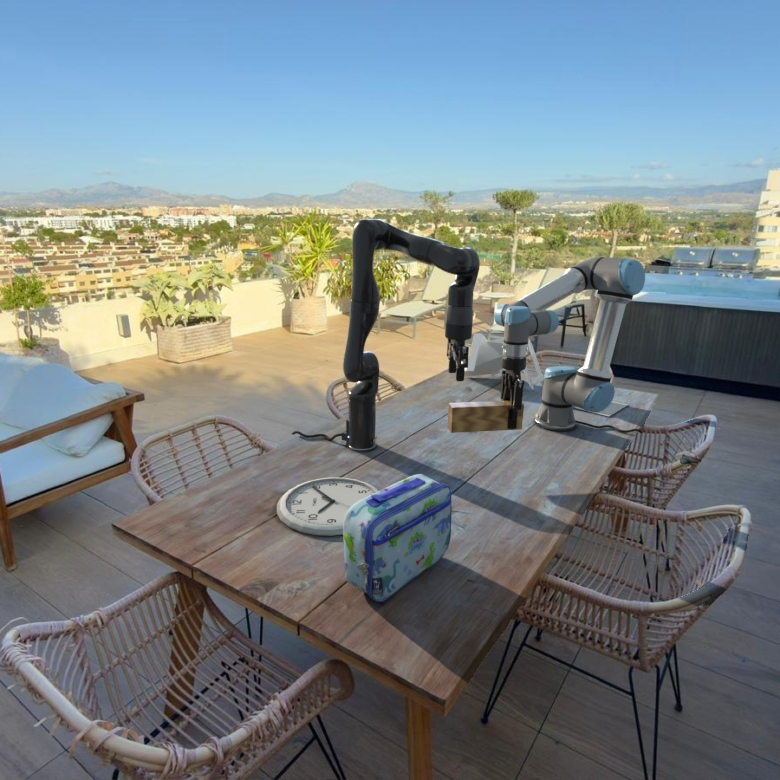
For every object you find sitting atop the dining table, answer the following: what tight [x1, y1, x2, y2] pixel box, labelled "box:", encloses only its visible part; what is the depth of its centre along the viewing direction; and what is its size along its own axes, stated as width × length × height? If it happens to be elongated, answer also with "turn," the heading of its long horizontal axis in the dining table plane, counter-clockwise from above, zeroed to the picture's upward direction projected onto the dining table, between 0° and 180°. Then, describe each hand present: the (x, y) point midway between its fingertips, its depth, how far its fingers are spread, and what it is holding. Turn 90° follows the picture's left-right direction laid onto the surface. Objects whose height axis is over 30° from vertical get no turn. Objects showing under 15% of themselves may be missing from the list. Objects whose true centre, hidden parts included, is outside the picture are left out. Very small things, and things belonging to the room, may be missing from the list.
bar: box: [447, 400, 525, 434], centre depth 169 cm, size 24×5×9 cm, turn 99°
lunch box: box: [342, 473, 453, 603], centre depth 112 cm, size 26×11×21 cm, turn 134°
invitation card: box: [573, 400, 629, 418], centre depth 226 cm, size 21×1×15 cm
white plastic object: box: [461, 333, 544, 391], centre depth 259 cm, size 37×45×31 cm
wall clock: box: [276, 476, 381, 537], centre depth 142 cm, size 30×2×30 cm
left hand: (455, 376), depth 152 cm, fingers open, 8 cm apart
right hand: (508, 425), depth 172 cm, fingers closed on bar, 5 cm apart
